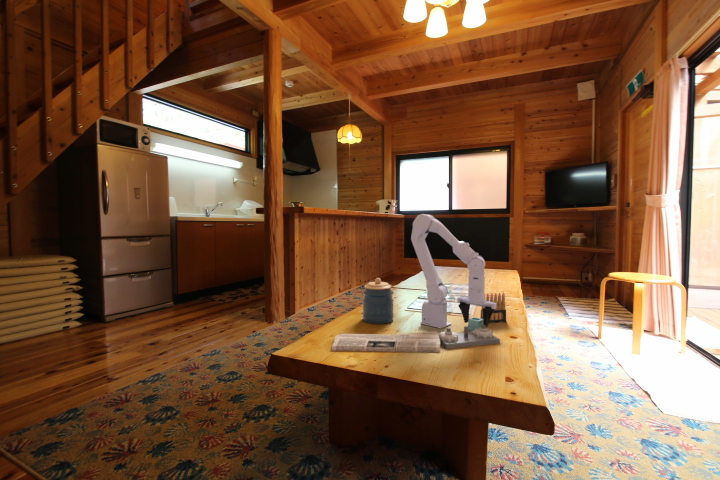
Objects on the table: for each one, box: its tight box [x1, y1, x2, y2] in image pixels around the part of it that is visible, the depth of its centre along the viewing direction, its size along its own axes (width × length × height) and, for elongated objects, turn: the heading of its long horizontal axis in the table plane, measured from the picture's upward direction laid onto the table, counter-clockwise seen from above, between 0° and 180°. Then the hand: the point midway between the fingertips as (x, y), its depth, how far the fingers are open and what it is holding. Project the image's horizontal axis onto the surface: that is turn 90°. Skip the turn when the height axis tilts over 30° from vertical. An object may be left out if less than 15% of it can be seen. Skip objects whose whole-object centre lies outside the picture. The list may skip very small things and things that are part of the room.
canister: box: [361, 277, 395, 325], centre depth 136 cm, size 13×13×18 cm
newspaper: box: [331, 331, 441, 353], centre depth 109 cm, size 35×12×4 cm, turn 87°
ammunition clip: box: [479, 291, 507, 324], centre depth 132 cm, size 11×2×12 cm, turn 101°
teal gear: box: [467, 316, 483, 332], centre depth 123 cm, size 6×6×4 cm
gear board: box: [438, 325, 501, 350], centre depth 111 cm, size 20×9×5 cm, turn 104°
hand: (475, 324), depth 123 cm, fingers open, 7 cm apart
